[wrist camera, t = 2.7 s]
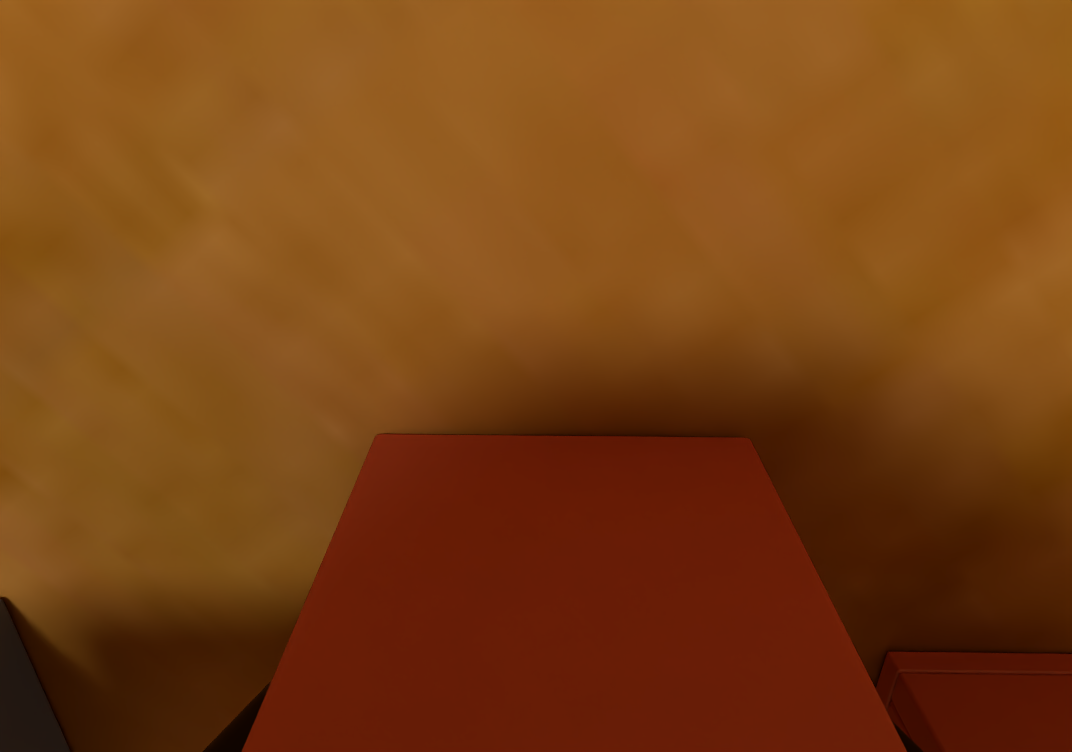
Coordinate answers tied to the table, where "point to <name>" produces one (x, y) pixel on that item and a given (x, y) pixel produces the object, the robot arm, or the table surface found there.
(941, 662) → the rust tray
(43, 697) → the blue block
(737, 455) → the rust block
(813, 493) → the table surface
